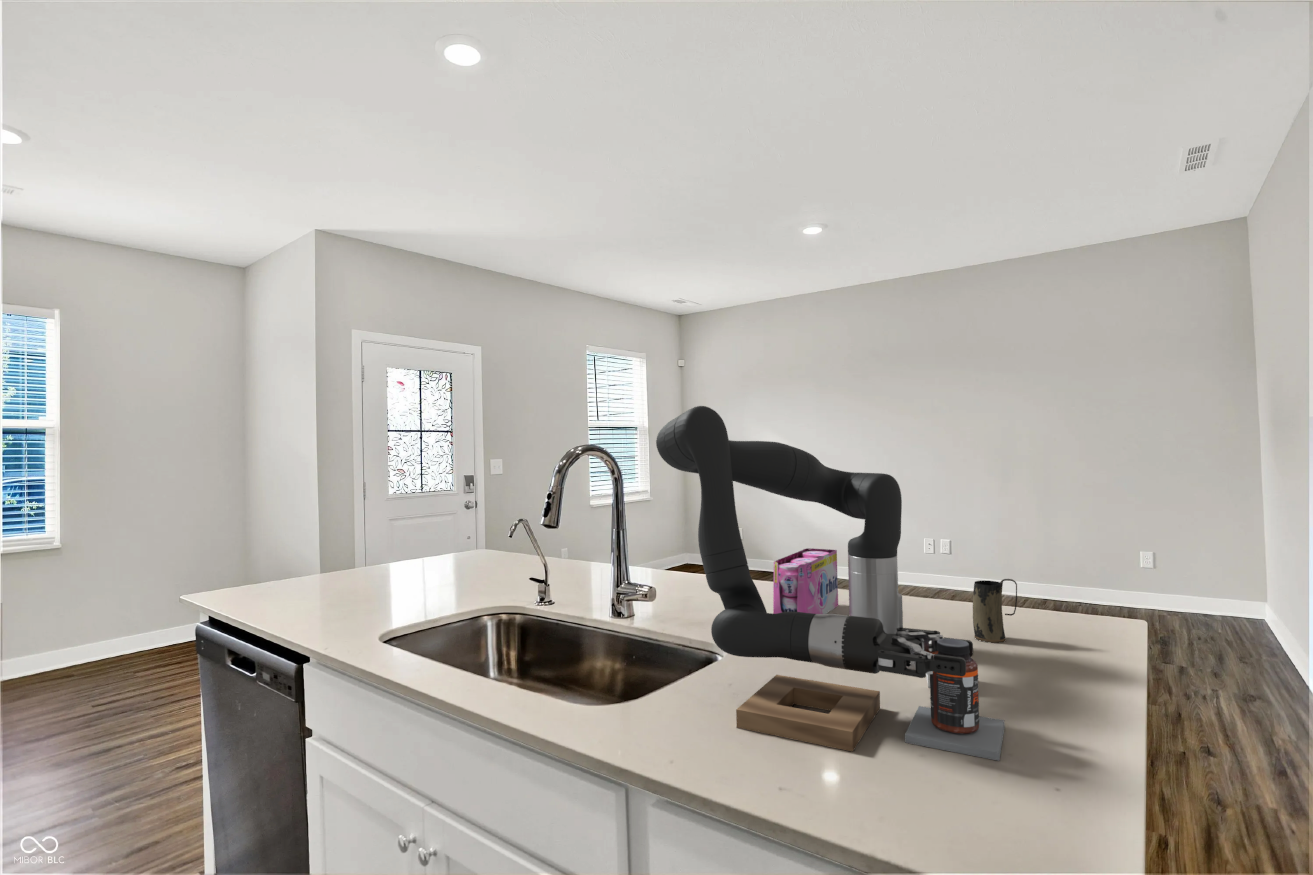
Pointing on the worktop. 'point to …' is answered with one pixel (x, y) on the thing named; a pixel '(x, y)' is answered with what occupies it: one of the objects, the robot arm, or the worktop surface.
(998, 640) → the mug
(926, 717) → the slate pad
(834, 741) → the socket block
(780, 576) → the gum box
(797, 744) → the worktop surface
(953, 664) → the robot arm
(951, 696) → the supplement bottle
